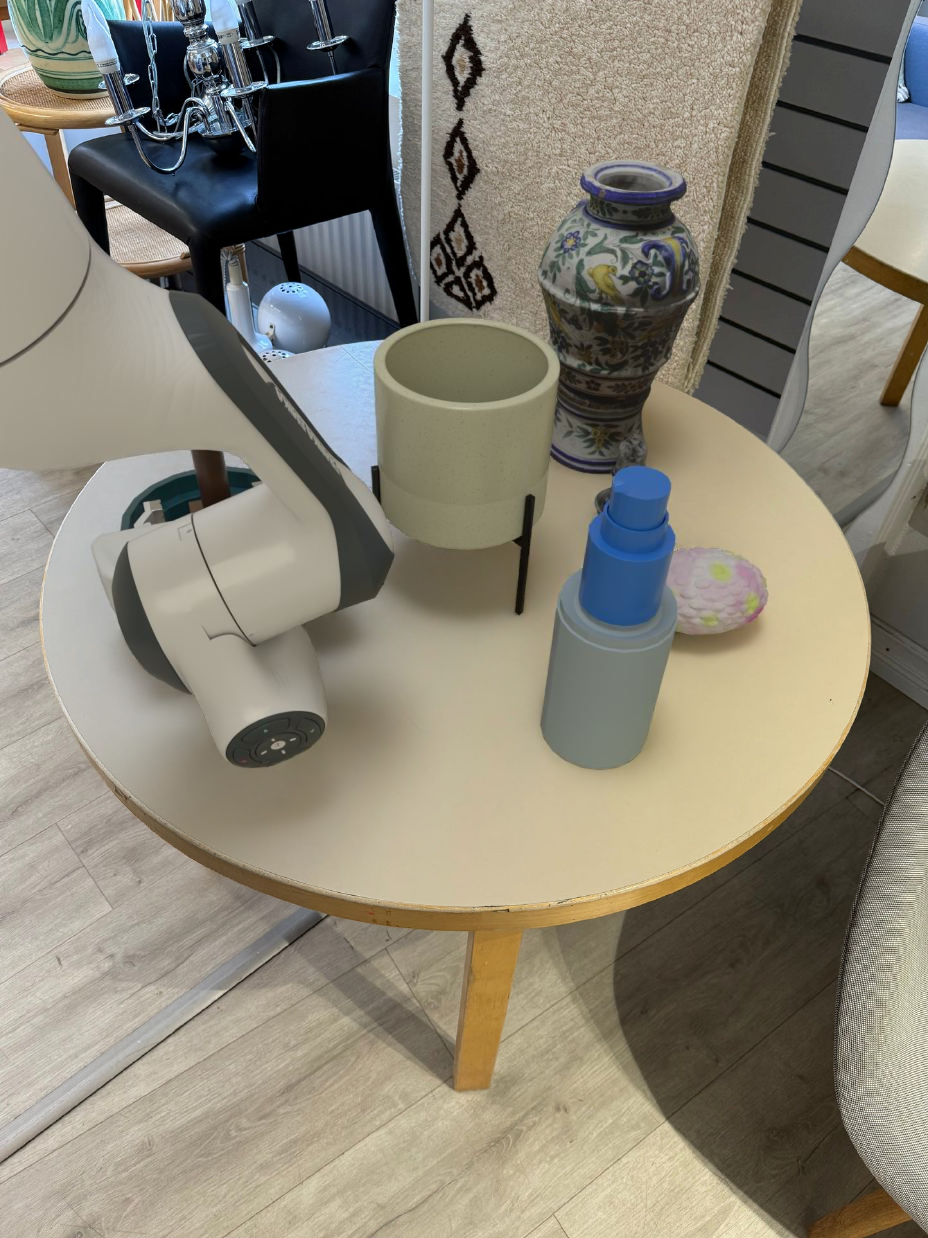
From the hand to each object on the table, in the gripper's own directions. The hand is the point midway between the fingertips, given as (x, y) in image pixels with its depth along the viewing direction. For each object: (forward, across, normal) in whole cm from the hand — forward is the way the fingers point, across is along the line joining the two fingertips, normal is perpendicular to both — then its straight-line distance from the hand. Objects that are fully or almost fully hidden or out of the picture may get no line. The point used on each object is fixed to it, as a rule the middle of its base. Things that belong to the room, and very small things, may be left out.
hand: (207, 496), depth 81 cm
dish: (+4, 0, +10) cm, 10 cm away
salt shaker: (-6, -40, +10) cm, 42 cm away
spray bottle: (-28, -26, +10) cm, 40 cm away
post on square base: (+3, -1, +9) cm, 9 cm away
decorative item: (-20, -41, +10) cm, 46 cm away
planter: (-6, -22, +10) cm, 25 cm away
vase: (+10, -45, +10) cm, 47 cm away
